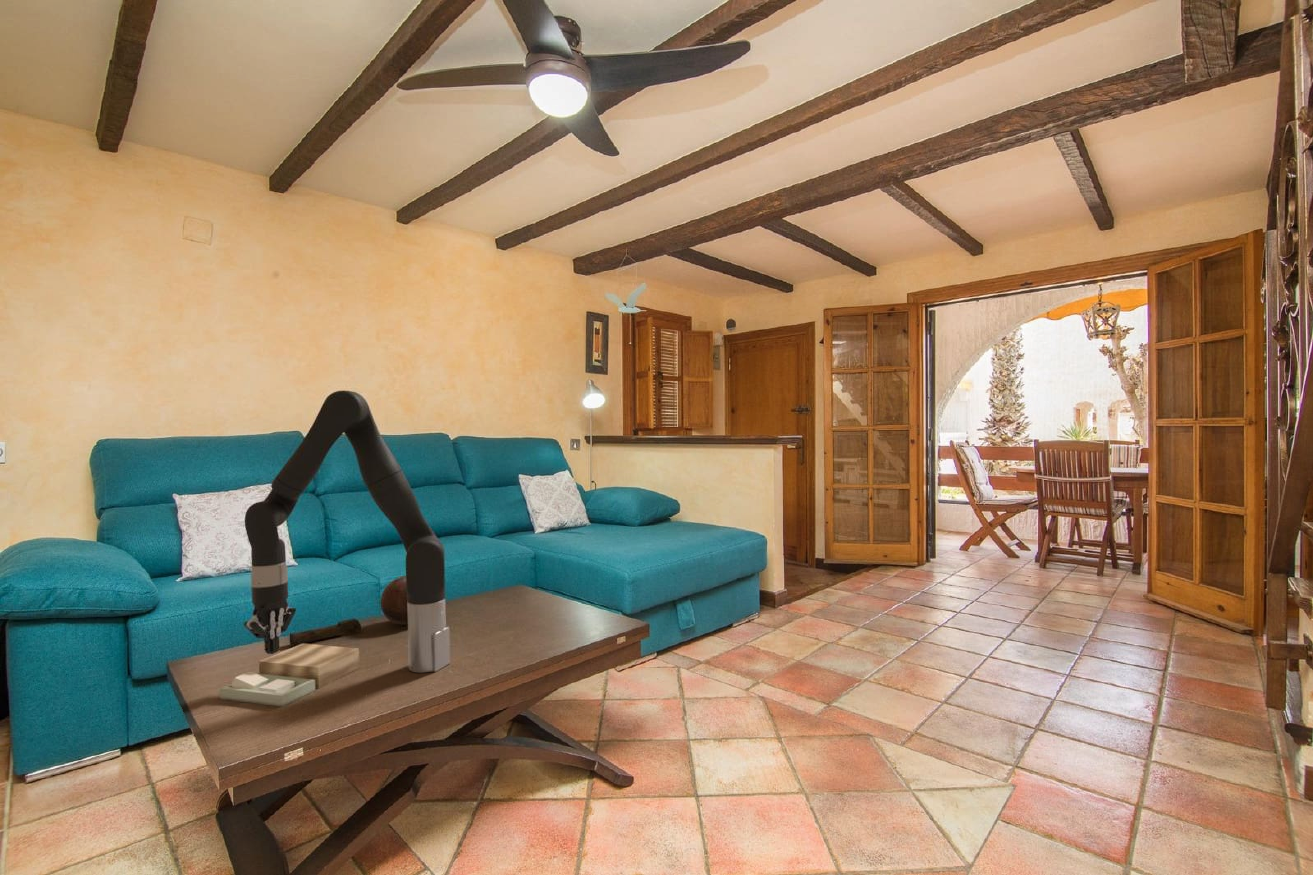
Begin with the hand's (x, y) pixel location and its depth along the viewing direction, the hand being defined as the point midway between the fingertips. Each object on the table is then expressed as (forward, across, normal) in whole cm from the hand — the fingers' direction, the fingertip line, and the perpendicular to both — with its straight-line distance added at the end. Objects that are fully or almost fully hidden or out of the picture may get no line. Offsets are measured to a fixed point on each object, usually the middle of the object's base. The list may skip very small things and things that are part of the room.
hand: (272, 652), depth 148 cm
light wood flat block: (+8, +6, -5) cm, 11 cm away
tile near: (+5, -5, -7) cm, 10 cm away
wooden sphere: (+8, +48, -1) cm, 49 cm away
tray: (+8, -6, -5) cm, 10 cm away
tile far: (+4, -6, 0) cm, 7 cm away
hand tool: (+8, +30, +14) cm, 34 cm away
